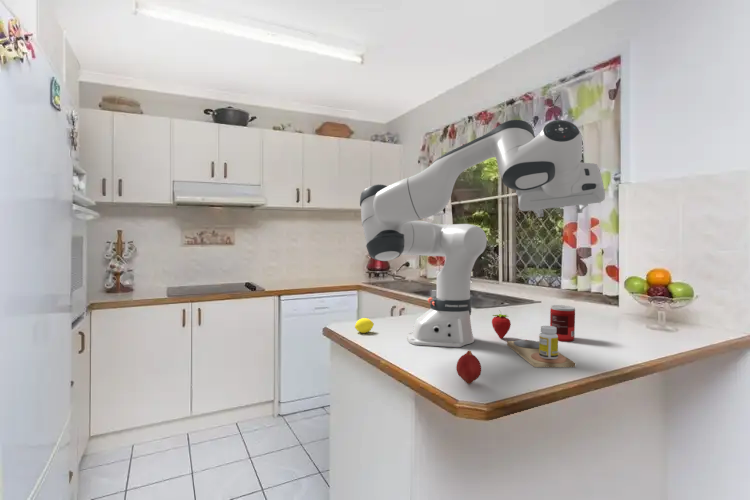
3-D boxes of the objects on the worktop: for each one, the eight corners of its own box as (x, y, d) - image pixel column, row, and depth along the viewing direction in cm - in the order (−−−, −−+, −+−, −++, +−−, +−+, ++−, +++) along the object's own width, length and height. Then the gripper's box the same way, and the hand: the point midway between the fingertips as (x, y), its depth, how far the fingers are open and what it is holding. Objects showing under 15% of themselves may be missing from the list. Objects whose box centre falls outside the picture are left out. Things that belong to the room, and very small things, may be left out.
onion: (453, 379, 98) (453, 347, 98) (476, 378, 99) (476, 346, 99) (460, 388, 93) (460, 354, 92) (484, 387, 93) (485, 353, 93)
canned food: (569, 336, 141) (569, 305, 141) (578, 342, 133) (579, 309, 133) (546, 335, 142) (547, 304, 142) (554, 341, 134) (555, 308, 134)
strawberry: (497, 341, 134) (497, 311, 133) (488, 336, 141) (488, 307, 141) (514, 341, 134) (514, 311, 134) (504, 335, 142) (504, 307, 142)
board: (535, 367, 107) (535, 362, 107) (506, 344, 130) (506, 339, 130) (576, 367, 107) (576, 362, 107) (540, 344, 130) (540, 340, 130)
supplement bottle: (556, 355, 113) (557, 326, 113) (558, 360, 109) (559, 329, 108) (538, 354, 115) (539, 324, 114) (539, 358, 110) (540, 328, 110)
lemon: (356, 336, 143) (354, 321, 142) (355, 332, 148) (353, 318, 148) (375, 332, 144) (373, 318, 143) (373, 329, 149) (371, 315, 149)
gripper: (515, 194, 100) (519, 226, 111) (609, 182, 93) (603, 218, 103) (514, 175, 103) (518, 208, 114) (604, 162, 96) (599, 199, 107)
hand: (559, 213), depth 109 cm, fingers open, 8 cm apart
